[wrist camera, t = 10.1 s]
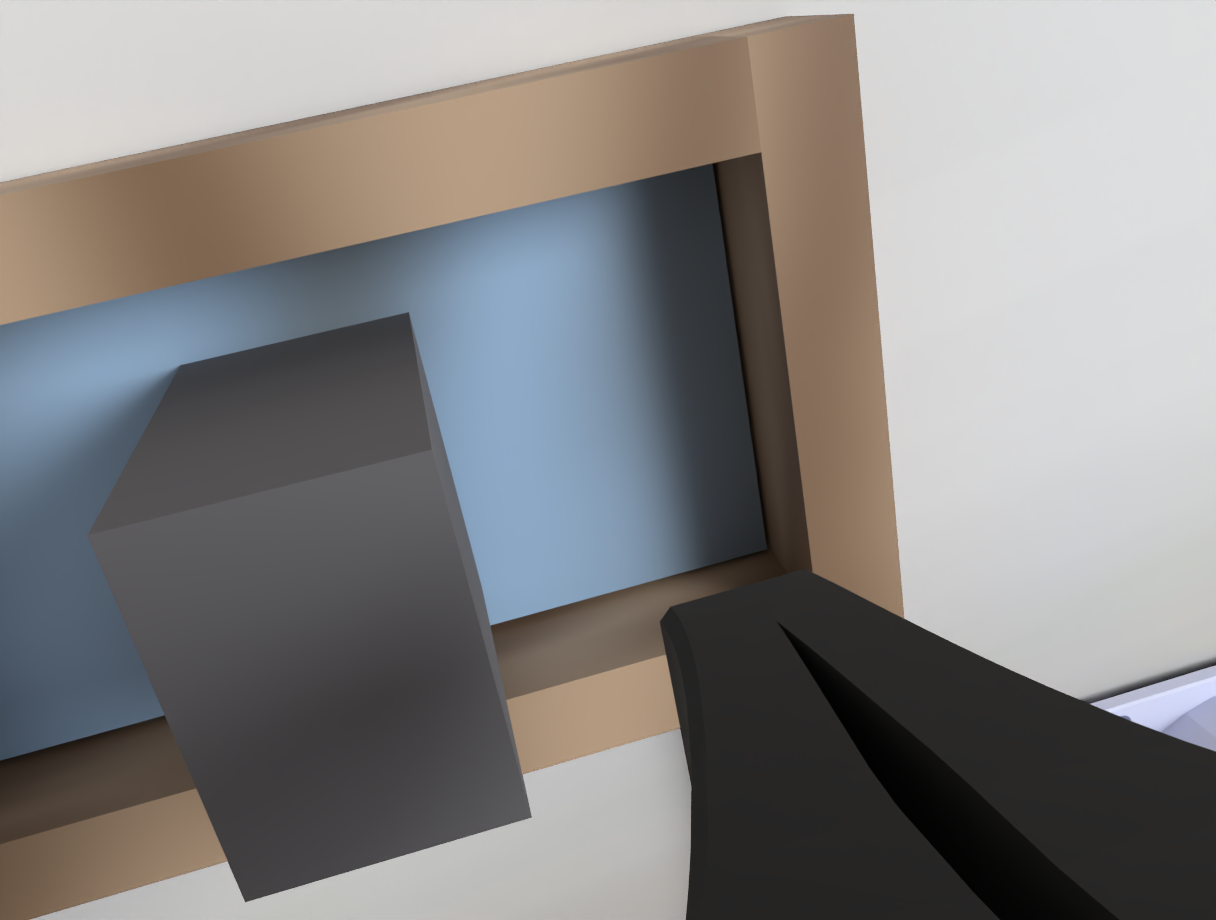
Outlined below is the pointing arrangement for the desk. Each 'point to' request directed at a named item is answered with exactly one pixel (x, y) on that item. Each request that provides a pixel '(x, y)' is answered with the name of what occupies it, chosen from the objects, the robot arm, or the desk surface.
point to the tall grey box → (313, 607)
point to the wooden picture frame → (458, 388)
